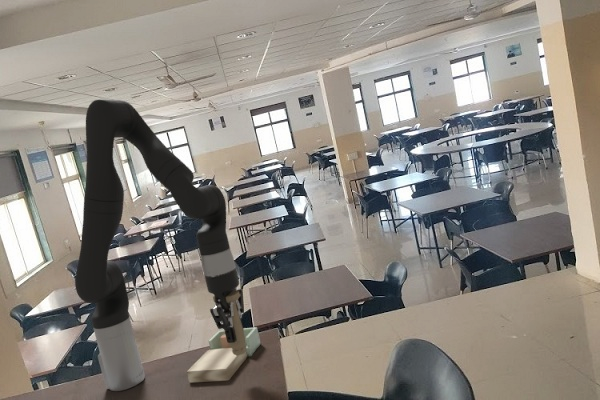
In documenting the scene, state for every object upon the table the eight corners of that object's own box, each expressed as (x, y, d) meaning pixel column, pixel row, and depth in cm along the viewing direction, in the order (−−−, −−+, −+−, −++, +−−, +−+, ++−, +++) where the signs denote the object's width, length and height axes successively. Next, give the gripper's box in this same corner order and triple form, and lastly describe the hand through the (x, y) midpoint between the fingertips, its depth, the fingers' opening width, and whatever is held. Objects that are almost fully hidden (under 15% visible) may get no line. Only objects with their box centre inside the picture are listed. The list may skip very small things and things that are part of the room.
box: (211, 359, 140) (207, 342, 140) (222, 347, 147) (218, 330, 147) (251, 356, 137) (247, 338, 136) (260, 343, 144) (256, 327, 143)
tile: (219, 337, 141) (222, 334, 143) (223, 353, 141) (226, 349, 143) (234, 336, 140) (237, 333, 142) (238, 351, 140) (241, 348, 142)
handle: (247, 357, 120) (232, 296, 118) (223, 358, 122) (209, 298, 120) (256, 348, 124) (242, 289, 122) (233, 348, 127) (219, 291, 125)
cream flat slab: (189, 382, 129) (186, 371, 128) (210, 360, 140) (208, 349, 140) (228, 380, 125) (226, 368, 125) (246, 357, 137) (244, 346, 136)
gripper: (218, 262, 128) (233, 327, 130) (191, 281, 115) (209, 352, 117) (245, 259, 126) (260, 324, 128) (221, 277, 113) (238, 350, 115)
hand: (235, 337), depth 123 cm, fingers closed on handle, 4 cm apart
